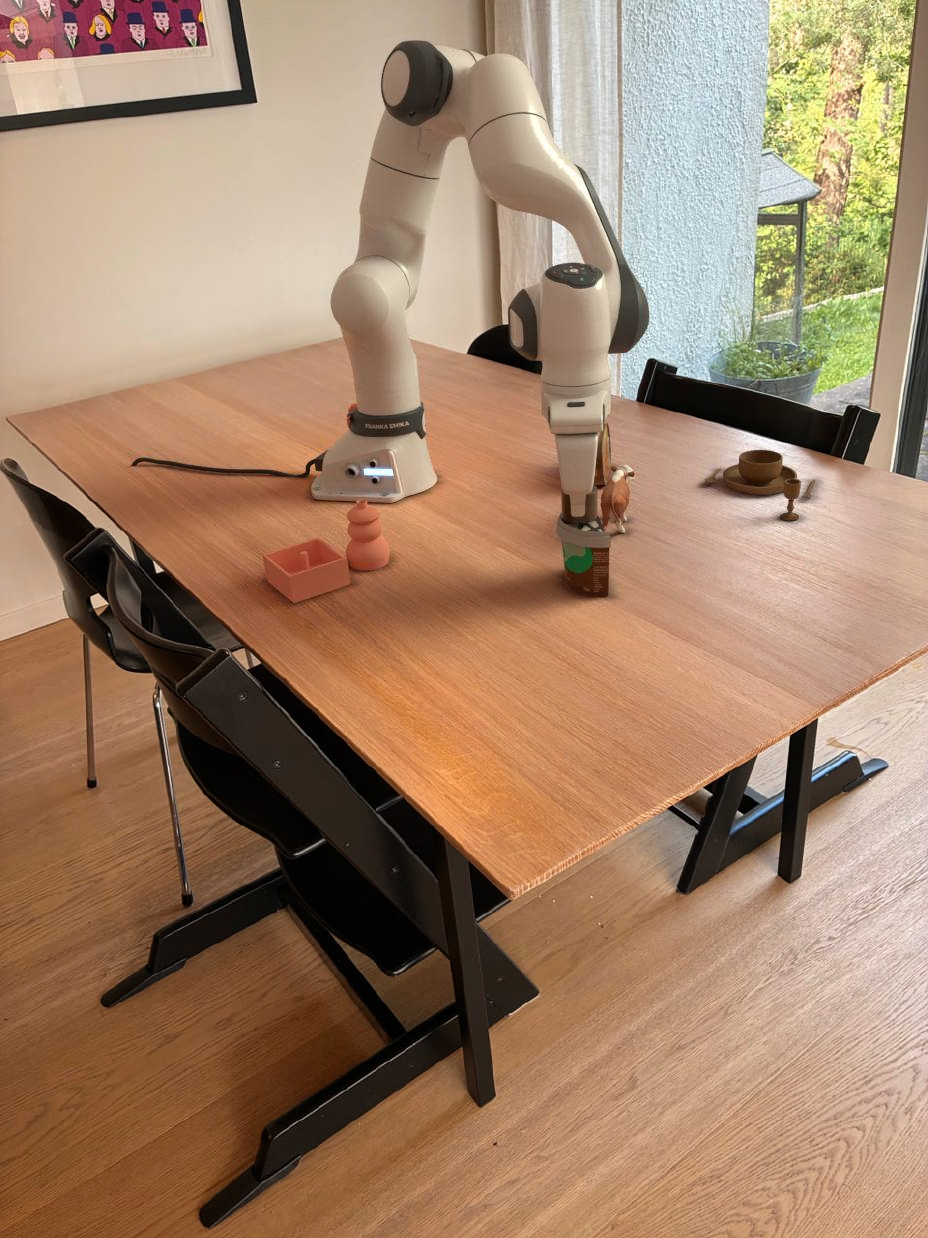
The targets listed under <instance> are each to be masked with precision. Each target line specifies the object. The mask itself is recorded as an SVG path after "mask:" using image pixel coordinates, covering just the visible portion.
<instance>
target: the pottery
mask: <svg viewBox="0 0 928 1238" xmlns="http://www.w3.org/2000/svg"><path fill="white" fill-rule="evenodd" d="M355 504H356V506H353V507H352V508H350V509H349V510H348V511H347V514H346V520H348V522H349V523H348V525H347V528H346V529H347V535H348V536H349V537H350V538H351V539H350V541H349V542H348V544H347V546H346V550H345V554H346V555H344V554H342V553H341V552H339V551H338V550H337V549H335V548H334V547H332V546H331V545H330V544H328V543H327V542H325V541H324V540H323V539H321V538H320V537H316V538H313V539H309V540H306V541H303V542H300V543H296V544H293V545H290V546H287V547H283V548H279V549H277V550H273V551H270V552H267V553H264V554H262V560H263V565H264V570H265V578H266V581H267V582H268V583H269V584H271V585H272V586H273V588H275V589H276V590H278V591H279V592H280V593H281V594H282V595H283V596H284V597H286V598H287V599H288V600H289V601H290V603H291V602H292V604H296V603H299V602H302V601H305V600H308V599H311V598H314V597H317V596H320V595H323V594H326V593H329V592H332V591H335V590H338V589H341V588H344V587H347V586H351V584H352V583H351V575H350V569H349V566H350V568H352V569H354V570H357V571H375V570H378V569H381V568H383V567H385V566H386V565H387V564H388V563H389V561H390V556H391V555H390V554H391V549H390V545H389V543H388V541H387V540H386V539H385V538H384V536H382V533H383V531H384V530H383V528H384V527H383V524H382V521H381V520H380V519H379V517H380V515H381V513H380V510H379V509H378V508H377V507H376V506H374V505H372V504H368V502H367V500H364V499H362V500H358V501H355Z"/></svg>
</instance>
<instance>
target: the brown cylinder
mask: <svg viewBox="0 0 928 1238" xmlns="http://www.w3.org/2000/svg"><path fill="white" fill-rule="evenodd" d="M560 497H561V498H560V501H561V512H562V519H563V520H564V521H566V522H569V523H576V524H581V523H588V522H591V521H594V520H595V519H596V518H597V516H598V517H599V515H598V514H599V513H598V486H597V485H593V488H592V491H591V493H589V494H586V499H585V515H584V516H582V517H573V516H572V515H571V502H570V495H569V494H565V493H564V491H563V488H562V487H561V489H560Z"/></svg>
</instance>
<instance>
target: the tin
mask: <svg viewBox="0 0 928 1238" xmlns="http://www.w3.org/2000/svg"><path fill="white" fill-rule="evenodd" d="M611 444H612V443H611V432H610V426H609V423H608V422H606V423H605V422H604V427H603V431H602V432H599V438H598V446H597V456H596V466H595V476H594V483H593V485H595V486H606V484H607V482H608V481H609V477H610V472H611V468H612V449H611V447H612V446H611Z"/></svg>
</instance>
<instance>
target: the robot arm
mask: <svg viewBox="0 0 928 1238" xmlns="http://www.w3.org/2000/svg"><path fill="white" fill-rule="evenodd" d="M380 93H381V97H382V101H383V105H384V107H385V108H384V111H383V113H382V116H381V119H380V122H379V124H378V127H377V129H376V133H375V137H374V140H373V143H372V149H371V153H370V157H369V162H368V167H367V171H366V176H365V180H364V184H363V189H362V194H361V198H360V204H359V211H358V212H359V236H358V246H357V253H356V257H355V258H354V261H353V263H352V264H351V265H349V266H347V267H346V268H345V269H343V270H342V271H341V272H340V274H339V275H338V276H337V278H336V280H335V283H334V285H333V287H332V291H331V294H330V302H329V303H330V309H331V313H332V316H333V318H334V320H335V322H337V324H338V325H339V328H340V331H341V336H342V338H343V341H344V344H345V347H346V350H347V353H348V357H349V360H350V366H351V372H352V379H353V384H354V386H353V387H354V392H355V400H356V402H355V403H352V404H350V406H349V408H348V409H347V414H346V426H347V427H348V431H345V433H344V434H343V435H341V437H339V439H337V440H336V441H335V442H334V443H333V444H332V445H331V446H330V447H329V448H327V449H326V450H324V451H323V452H321V454H319V455H318V456H317V457H315V458H313V459H311V460H309V461H308V462H307V463H306V464H305V470H304V471H305V472H303V473H300V474H291V473H286V472H283V471H280V470H275V469H267V468H225V467H224V468H222V467H212V466H203V465H195V464H189V463H188V464H187V463H184V462H183V463H182V462H177V461H172V460H165V459H156V458H151V457H146V456H145V457H138V458H136V459H135V460H134V461H133V462H132V463H131V467H137V465H138V464H140V463H151V464H154V465H163V466H171V467H176V468H181V469H186V470H192V471H202V472H209V473H219V474H233V475H235V474H237V475H238V474H240V475H242V474H244V475H245V474H246V475H254V474H255V475H272V476H277V477H282V478H295V479H305V478H307V477H308V476H310V474H311V467H312V466H313V465H314V469H315V472H320V474H318V475H317V476H316V477H315V478H314V480H313V482H312V484H311V487H310V490H311V491H310V492H311V496H312V498H313V499H315V500H319V501H338V502H339V501H341V502H342V501H343V502H356V501H358V500H362V499H364V500H367V503H383V504H384V503H385V504H390V503H396V502H398V501H400V500H402V499H405V498H406V497H409V496H414V495H417V494H420V493H422V492H425V491H427V490H429V489H430V488H432V487H434V486H435V484H437V481H438V476H437V474H436V472H435V469H434V467H433V463H432V459H431V456H430V452H429V447H428V443H427V437H426V436H427V431H428V429H427V428H428V427H427V419H426V418H427V417H426V410H425V406H424V405H425V404H424V402H423V401H422V398H421V389H420V388H421V387H420V379H419V378H420V377H419V370H418V369H419V366H418V358H417V355H416V354H415V352H414V349H413V346H412V342H411V338H410V336H409V331H408V328H407V327H408V326H407V321H406V313H407V310H408V309H409V308H410V307H411V306H412V305H413V303H414V301H415V300H416V297H417V293H418V289H419V284H420V278H421V274H422V273H421V272H422V267H423V261H424V255H425V247H426V239H427V233H428V228H429V224H430V220H431V215H432V212H433V208H434V204H435V199H436V197H437V192H438V187H439V183H440V180H441V175H442V171H443V167H444V163H445V157H446V153H447V150H448V147H449V146H450V144H451V142H453V140H455V139H457V138H465V139H466V143H467V148H468V153H469V157H470V162H471V165H472V168H473V172H474V175H475V178H476V180H477V182H478V185H479V187H480V188H481V190H482V191H483V193H484V194H485V195H486V196H488V197H489V198H490V199H491V200H492V201H493V202H495V203H497V204H499V205H500V206H502V207H504V208H507V209H509V210H512V211H516V212H522V213H527V214H531V215H535V216H539V217H542V218H544V219H547V220H550V221H552V222H554V223H557V224H559V225H560V226H562V227H563V228H565V229H566V230H567V231H568V232H569V233H570V234H571V236H572V237H573V240H574V241H575V244H576V247H577V249H578V251H579V254H580V256H581V258H582V261H583V263H581V262H563V263H559V264H554V265H552V266H550V267H548V268H547V269H546V270H545V271H544V272H543V273H542V274H541V278H540V282H537V283H535V284H533V285H530V286H527V287H525V288H521V289H520V290H519V291H518V292H517V293H516V295H514V297H513V299H512V300H511V301H510V303H509V304H508V305H509V306H508V308H507V324H508V325H507V326H508V327H507V328H508V339H509V345H510V347H511V348H512V349H513V350H515V351H516V352H517V353H518V354H519V355H521V357H523V358H525V359H526V360H528V361H532V362H533V361H537V362H541V364H542V368H541V374H540V396H541V398H540V399H541V400H540V401H541V414H542V415H541V416H542V417H544V418H545V420H546V422H547V423H548V425H549V430H550V434H553V435H554V440H555V447H556V454H557V463H558V469H559V470H558V471H559V478H560V483H561V489H562V488H563V491H564V493H565V494H569V495H570V502H571V515H572V516H573V517H582V516H584V515H585V499H586V494H589V493H591V491H592V488H593V483H594V476H595V466H596V456H597V446H598V438H599V432H602V431H603V427H604V424H605V421H606V420H607V417H608V416H609V415H610V413H611V412H612V372H611V371H612V370H611V367H610V364H609V355H616V354H617V355H618V354H627V353H629V352H630V351H631V350H633V349H634V347H635V346H636V345H637V344H638V343H639V342H640V340H641V339H642V338H643V337H644V335H645V333H646V331H647V330H648V327H649V324H650V308H649V307H650V306H649V302H648V299H647V295H646V293H645V291H644V289H643V287H642V286H641V283H640V282H639V280H638V279H637V277H636V276H635V274H634V273H633V270H632V269H631V268H630V265H629V264H628V262H627V260H626V257H625V254H624V253H623V250H622V248H621V245H620V243H619V241H618V238H617V236H616V235H615V231H614V230H613V227H612V225H611V222H610V220H609V218H608V215H607V213H606V211H605V208H604V207H603V204H602V201H601V200H600V198H599V195H598V193H597V191H596V189H595V187H594V185H593V183H592V181H591V179H590V177H589V175H588V174H587V172H586V171H585V169H583V168H582V167H581V166H579V165H578V164H576V163H573V162H572V161H571V160H570V159H569V158H568V157H567V156H566V155H565V153H564V152H563V151H562V150H561V149H560V147H559V146H558V143H556V141H555V140H554V137H553V135H552V132H551V130H550V126H549V122H548V119H547V115H546V111H545V108H544V105H543V101H542V99H541V96H540V94H539V90H538V89H537V86H536V84H535V82H534V79H533V77H532V76H531V72H530V71H529V69H528V67H527V65H525V63H524V62H523V60H521V59H520V58H519V57H516V56H515V55H513V54H509V53H503V52H502V53H501V52H498V53H491V54H489V55H488V54H487V55H484V54H481V53H478V52H476V51H473V50H470V49H466V48H456V47H451V46H448V45H442V44H432V43H431V42H429V41H428V40H418V39H417V40H415V39H414V40H413V39H410V40H405V41H401V42H400V43H397V44H396V45H395V46H394V48H393V49H392V50H391V51H390V53H389V54H388V55H387V57H386V60H385V62H384V65H383V68H382V71H381V78H380Z"/></svg>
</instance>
